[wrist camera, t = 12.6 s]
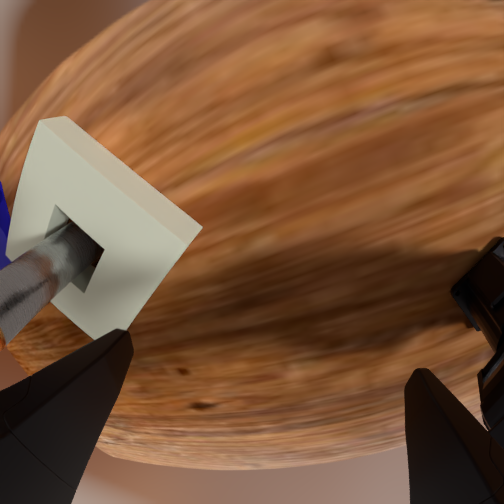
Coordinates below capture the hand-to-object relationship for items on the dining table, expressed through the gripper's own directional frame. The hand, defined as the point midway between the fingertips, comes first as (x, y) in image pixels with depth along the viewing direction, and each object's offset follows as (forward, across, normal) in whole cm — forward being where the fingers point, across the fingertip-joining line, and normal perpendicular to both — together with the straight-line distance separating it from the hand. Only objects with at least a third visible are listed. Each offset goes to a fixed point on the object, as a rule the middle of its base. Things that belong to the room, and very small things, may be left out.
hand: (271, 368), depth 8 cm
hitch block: (+12, +15, +3) cm, 20 cm away
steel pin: (+12, +15, +3) cm, 20 cm away
